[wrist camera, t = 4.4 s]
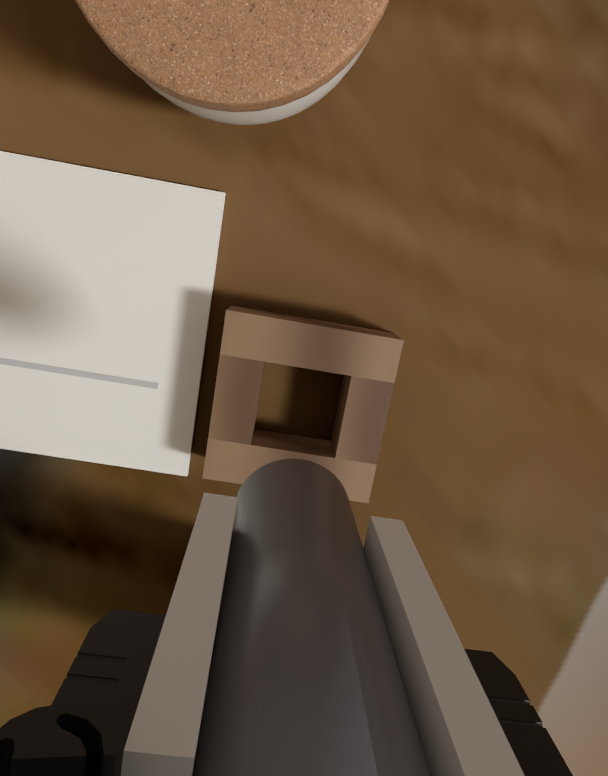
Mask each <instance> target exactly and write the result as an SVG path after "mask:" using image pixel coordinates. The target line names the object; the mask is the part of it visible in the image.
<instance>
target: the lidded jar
mask: <svg viewBox="0 0 608 776" xmlns="http://www.w3.org/2000/svg"><path fill="white" fill-rule="evenodd" d="M75 1H76V3H77V4H78V6H79V8H80V9H81V11H82V13H83V15H84V16H85V18H86V20H87V21H88V23H89V24H90V25H91V27H92V28H93V29H94V30H95V32H96V33H97V34H98V35H99V37H100V38H101V39H102V40H103V42H104V43H105V44H106V45H107V47H108V48H109V49H110V50H111V51H112V53H113V54H114V55H115V56H117V57H118V58H119V59H120V60H121V61H122V62H123V63H124V64H125V65H126V66H127V67H128V68H129V69H130V70H131V71H133V72H134V73H135V74H136V75H137V76H139V77H140V78H142V79H143V80H144V81H145V82H146V83H147V84H148V85H149V86H150V87H151V88H152V89H153V90H155V91H156V92H158V93H159V94H161V95H162V96H163V97H165V98H166V99H168V100H169V101H171V102H172V103H174V104H175V105H177V106H179V107H180V108H183V109H185V110H187V111H189V112H191V113H193V114H195V115H197V116H199V117H202V118H206V119H209V120H213V121H216V122H219V123H227V124H235V125H254V124H264V123H269V122H273V121H278V120H282V119H284V118H287V117H289V116H292V115H294V114H297V113H299V112H301V111H303V110H305V109H306V108H308V107H309V106H311V105H313V104H314V103H316V102H317V101H319V100H320V99H321V98H322V97H324V96H325V95H326V94H327V93H328V92H329V91H330V90H332V89H333V88H334V87H335V86H336V85H337V84H338V83H339V81H340V80H341V79H342V78H343V77H344V75H345V74H346V73H347V72H348V71H349V69H350V68H351V67H352V66H353V64H354V63H355V62H356V60H357V59H358V57H359V56H360V54H361V52H362V51H363V49H364V47H365V46H366V44H367V42H368V41H369V39H370V36H371V35H372V33H373V31H374V30H375V28H376V26H377V25H378V23H379V21H380V20H381V18H382V16H383V14H384V11H385V9H386V7H387V4H388V2H389V0H75Z"/></svg>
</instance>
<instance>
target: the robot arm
mask: <svg viewBox="0 0 608 776" xmlns="http://www.w3.org/2000/svg"><path fill="white" fill-rule="evenodd" d="M237 499H238V497H232V496H224V495H217V494H210V493H204V495H203V498H202V502H201V505H200V508H199V511H198V514H197V518H196V521H195V524H194V527H193V530H192V534H191V537H190V540H189V543H188V546H187V550H186V553H185V556H184V559H183V562H182V566H181V569H180V572H179V575H178V578H177V582H176V585H175V588H174V591H173V594H172V598H171V601H170V604H169V607H168V610H167V614H166V615H159V614H151V613H143V612H134V611H126V610H117V609H113V610H111V611H110V612H109V613H108V614H107V615H105V616H104V617H103V618H102V619H101V620H99V621H98V622H97V623H96V624H95V625H93V626H92V627H91V628H90V630H89V632H88V634H87V636H86V638H85V640H84V642H83V644H82V646H81V648H80V650H79V652H78V655H77V657H75V659H74V661H73V663H72V665H71V667H70V669H69V671H68V673H67V677H66V679H64V681H63V683H62V685H61V687H60V689H59V691H58V693H57V695H56V697H55V699H54V701H53V703H52V705H51V706H46V707H39V708H35V709H33V710H31V711H28V712H26V713H24V714H22V715H20V716H17V717H15V718H13V719H11V720H9V721H8V722H7V723H6V724H4V725H3V726H2V727H1V728H0V776H192V774H193V767H194V761H195V755H196V749H197V743H198V737H199V731H200V725H201V719H202V713H203V707H204V701H205V695H206V689H207V683H208V676H209V670H210V664H211V658H212V652H213V646H214V640H215V634H216V628H217V622H218V616H219V610H220V604H221V598H222V591H223V585H224V579H225V573H226V567H227V561H228V555H229V549H230V543H231V537H232V531H233V524H234V518H235V512H236V505H237ZM364 553H365V556H366V560H367V563H368V566H369V570H370V573H371V576H372V580H373V583H374V587H375V590H376V593H377V597H378V600H379V603H380V607H381V610H382V614H383V617H384V620H385V624H386V627H387V630H388V634H389V637H390V641H391V644H392V647H393V651H394V654H395V657H396V661H397V664H398V668H399V671H400V674H401V678H402V681H403V684H404V688H405V691H406V694H407V698H408V701H409V705H410V708H411V711H412V715H413V718H414V721H415V725H416V728H417V732H418V735H419V738H420V742H421V745H422V748H423V752H424V755H425V759H426V762H427V765H428V769H429V772H430V775H431V776H573V775H572V773H571V772H570V770H569V768H568V767H567V765H566V763H565V761H564V759H563V758H562V756H561V754H560V752H559V751H558V749H557V747H556V745H555V744H554V742H553V741H552V738H551V737H550V735H549V733H548V732H547V730H546V728H543V727H542V721H541V719H540V717H539V716H538V714H537V712H536V710H535V709H534V707H533V706H530V700H529V698H528V696H527V695H526V693H525V691H524V689H523V688H522V686H521V684H520V682H519V681H518V679H517V677H516V675H515V674H514V673H513V672H512V671H511V670H510V669H509V668H508V667H507V666H506V665H505V664H504V663H503V662H501V661H500V660H499V659H498V658H497V657H496V656H495V655H494V654H493V653H492V652H486V651H478V650H470V649H464V648H463V646H462V644H461V642H460V639H459V637H458V635H457V633H456V631H455V629H454V627H453V625H452V623H451V621H450V619H449V616H448V614H447V612H446V610H445V608H444V606H443V604H442V602H441V600H440V598H439V596H438V593H437V591H436V589H435V587H434V585H433V583H432V581H431V579H430V577H429V575H428V573H427V570H426V568H425V566H424V564H423V562H422V560H421V558H420V556H419V554H418V552H417V550H416V547H415V545H414V543H413V541H412V539H411V537H410V535H409V533H408V531H407V529H406V527H405V524H404V522H403V520H396V519H389V518H382V517H375V516H371V517H370V522H369V526H368V531H367V536H366V540H365V545H364Z"/></svg>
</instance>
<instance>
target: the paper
mask: <svg viewBox="0 0 608 776" xmlns="http://www.w3.org/2000/svg"><path fill="white" fill-rule="evenodd" d="M225 195H226V193H224V192H218V191H213V190H208V189H202V188H197V187H192V186H186V185H181V184H175V183H170V182H165V181H159V180H154V179H149V178H143V177H138V176H132V175H127V174H122V173H116V172H111V171H106V170H100V169H95V168H89V167H84V166H79V165H73V164H68V163H63V162H57V161H52V160H46V159H41V158H36V157H30V156H25V155H20V154H14V153H9V152H3V151H0V449H7V450H14V451H20V452H27V453H34V454H41V455H47V456H54V457H61V458H67V459H74V460H81V461H87V462H94V463H101V464H107V465H114V466H121V467H127V468H134V469H141V470H147V471H154V472H161V473H168V474H174V475H181V476H187V475H188V471H189V464H190V456H191V449H192V441H193V434H194V426H195V419H196V412H197V404H198V397H199V389H200V382H201V374H202V367H203V359H204V352H205V344H206V337H207V329H208V322H209V315H210V307H211V300H212V292H213V285H214V277H215V270H216V262H217V255H218V247H219V240H220V232H221V225H222V217H223V210H224V203H225Z"/></svg>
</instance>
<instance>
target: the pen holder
mask: <svg viewBox="0 0 608 776" xmlns="http://www.w3.org/2000/svg"><path fill="white" fill-rule="evenodd" d="M403 342H404V340H403V339H401V338H400V337H398V336H397V335H396V334H394V333H391V332H386V331H380V330H374V329H368V328H362V327H356V326H351V325H345V324H339V323H333V322H327V321H322V320H316V319H310V318H304V317H298V316H293V315H287V314H281V313H275V312H269V311H263V310H258V309H252V308H246V307H240V306H234V305H231V306H230V307H229V308H228V309H226V314H225V321H224V328H223V335H222V343H221V350H220V357H219V364H218V371H217V378H216V385H215V392H214V399H213V407H212V414H211V421H210V428H209V435H208V442H207V449H206V456H205V463H204V471H203V478H204V479H210V480H217V481H224V482H230V483H237V484H243V483H244V482H245V481H246V479H247V478H248V477H249V476H250V475H251V474H252V473H253V472H255V471H256V470H257V469H259V468H261V467H262V466H264V465H266V464H268V463H271V462H274V461H277V460H282V459H294V458H295V459H304V460H309V461H312V462H315V463H317V464H319V465H321V466H323V467H325V468H326V469H328V470H329V471H331V472H332V473H333V474H334V475H335V476H336V477H337V478H338V479H339V481H340V482H341V483H342V485H343V487H344V488H345V491H346V493H347V496H348V499H349V500H351V501H357V502H364V503H368V502H369V498H370V493H371V489H372V484H373V479H374V475H375V470H376V466H377V461H378V456H379V452H380V447H381V443H382V438H383V434H384V429H385V424H386V420H387V415H388V411H389V406H390V401H391V397H392V392H393V388H394V383H395V378H396V374H397V369H398V365H399V360H400V355H401V351H402V346H403ZM265 362H270V363H276V364H282V365H288V366H294V367H300V368H306V369H312V370H318V371H324V372H330V373H336V374H342V375H344V377H343V382H342V388H341V393H340V398H339V403H338V408H337V413H336V418H335V423H334V428H333V434H332V439H331V441H330V440H323V439H317V438H311V437H304V436H298V435H291V434H285V433H279V432H272V431H266V430H260V429H254V426H255V420H256V414H257V408H258V402H259V395H260V389H261V383H262V377H263V370H264V364H265Z"/></svg>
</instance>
